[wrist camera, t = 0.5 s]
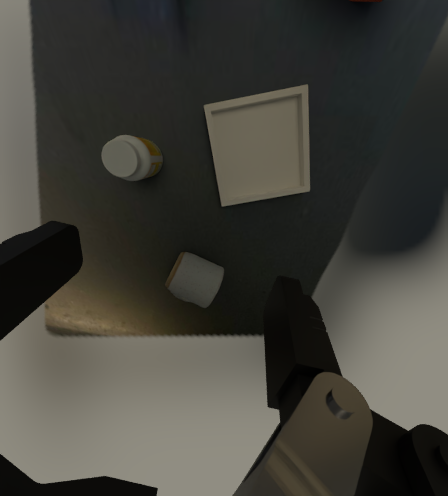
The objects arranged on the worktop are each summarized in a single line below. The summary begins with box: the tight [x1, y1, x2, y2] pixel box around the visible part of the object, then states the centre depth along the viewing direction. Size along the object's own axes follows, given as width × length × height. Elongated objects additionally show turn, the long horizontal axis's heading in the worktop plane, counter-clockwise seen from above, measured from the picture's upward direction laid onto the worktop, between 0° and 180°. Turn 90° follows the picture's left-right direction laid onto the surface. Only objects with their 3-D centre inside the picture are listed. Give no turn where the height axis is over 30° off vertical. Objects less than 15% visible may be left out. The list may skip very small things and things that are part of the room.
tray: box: [204, 84, 310, 207], centre depth 32 cm, size 14×14×2 cm
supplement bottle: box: [102, 135, 163, 181], centre depth 29 cm, size 5×5×10 cm
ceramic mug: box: [165, 252, 224, 308], centre depth 38 cm, size 11×8×8 cm
